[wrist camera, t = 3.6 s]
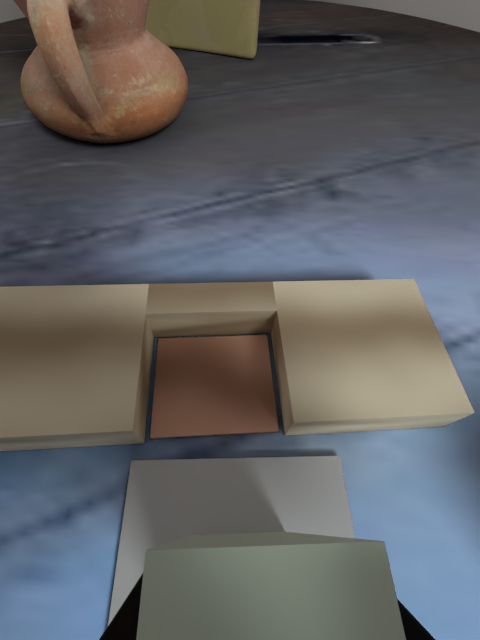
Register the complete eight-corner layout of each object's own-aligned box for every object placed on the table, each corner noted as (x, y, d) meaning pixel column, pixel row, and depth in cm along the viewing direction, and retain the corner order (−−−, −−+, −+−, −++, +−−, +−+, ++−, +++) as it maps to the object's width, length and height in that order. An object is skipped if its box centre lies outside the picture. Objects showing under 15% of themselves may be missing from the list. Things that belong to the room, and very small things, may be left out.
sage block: (296, 662, 12) (488, 1010, 3) (186, 668, 12) (91, 1062, 3) (285, 531, 14) (384, 541, 5) (192, 534, 14) (145, 550, 5)
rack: (443, 426, 17) (474, 412, 15) (-40, 453, 15) (-82, 441, 13) (394, 303, 21) (413, 278, 19) (13, 312, 19) (-12, 287, 17)
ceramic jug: (68, 77, 36) (-11, -142, 24) (196, 83, 37) (182, -130, 25) (8, 176, 27) (-170, -100, 15) (181, 182, 27) (145, -82, 15)
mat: (396, 783, 11) (401, 789, 10) (84, 808, 10) (80, 816, 10) (338, 456, 16) (340, 455, 16) (132, 461, 15) (131, 460, 15)
